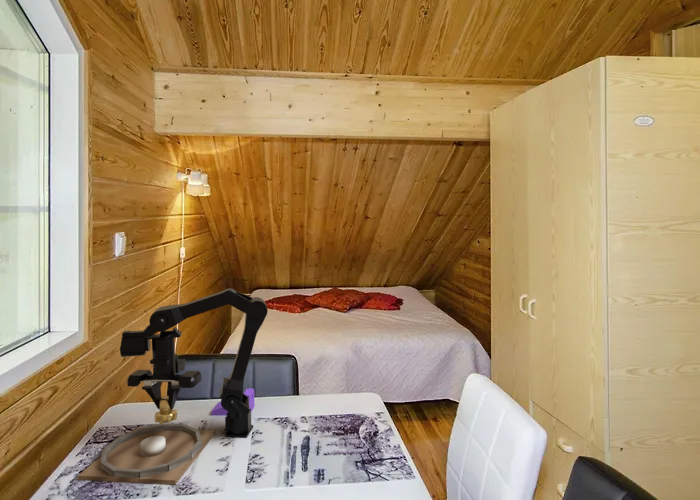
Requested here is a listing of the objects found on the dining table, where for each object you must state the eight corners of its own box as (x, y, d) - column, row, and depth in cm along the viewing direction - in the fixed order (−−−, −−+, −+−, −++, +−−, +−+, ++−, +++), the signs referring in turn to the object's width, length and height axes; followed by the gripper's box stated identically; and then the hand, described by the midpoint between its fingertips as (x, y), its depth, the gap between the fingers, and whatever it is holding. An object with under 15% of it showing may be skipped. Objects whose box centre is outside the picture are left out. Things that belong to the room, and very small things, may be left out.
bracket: (254, 407, 143) (254, 386, 143) (249, 416, 136) (249, 395, 136) (218, 407, 143) (217, 386, 143) (211, 416, 136) (210, 395, 136)
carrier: (215, 433, 125) (215, 421, 125) (175, 484, 101) (175, 470, 101) (135, 430, 127) (135, 418, 127) (78, 479, 103) (77, 465, 103)
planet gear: (181, 415, 123) (180, 394, 122) (171, 424, 117) (170, 403, 117) (161, 414, 123) (160, 393, 123) (150, 423, 118) (150, 402, 117)
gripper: (208, 345, 126) (210, 397, 127) (147, 344, 128) (149, 395, 129) (191, 357, 115) (193, 414, 116) (124, 356, 117) (127, 412, 118)
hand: (165, 408), depth 120 cm, fingers closed on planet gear, 3 cm apart
